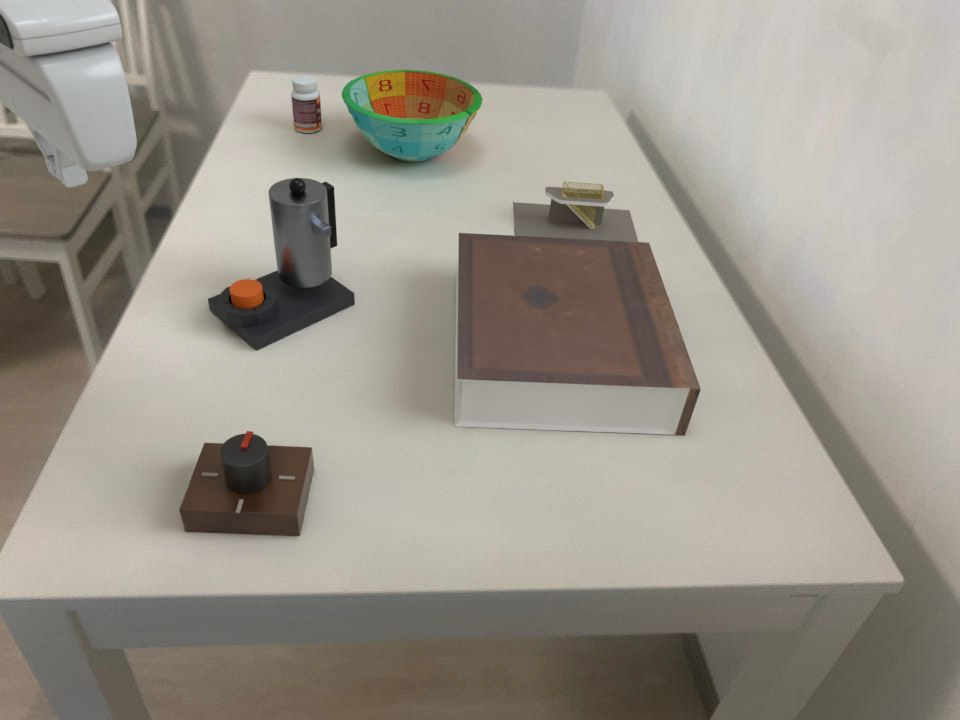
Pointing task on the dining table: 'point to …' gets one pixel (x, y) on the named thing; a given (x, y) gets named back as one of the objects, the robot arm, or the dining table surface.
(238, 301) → the orange button
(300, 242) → the kettle
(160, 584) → the dining table surface
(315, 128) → the pill bottle
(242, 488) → the dial knob
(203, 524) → the dial panel
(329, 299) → the button base
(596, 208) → the platform
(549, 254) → the book
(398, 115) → the bowl
